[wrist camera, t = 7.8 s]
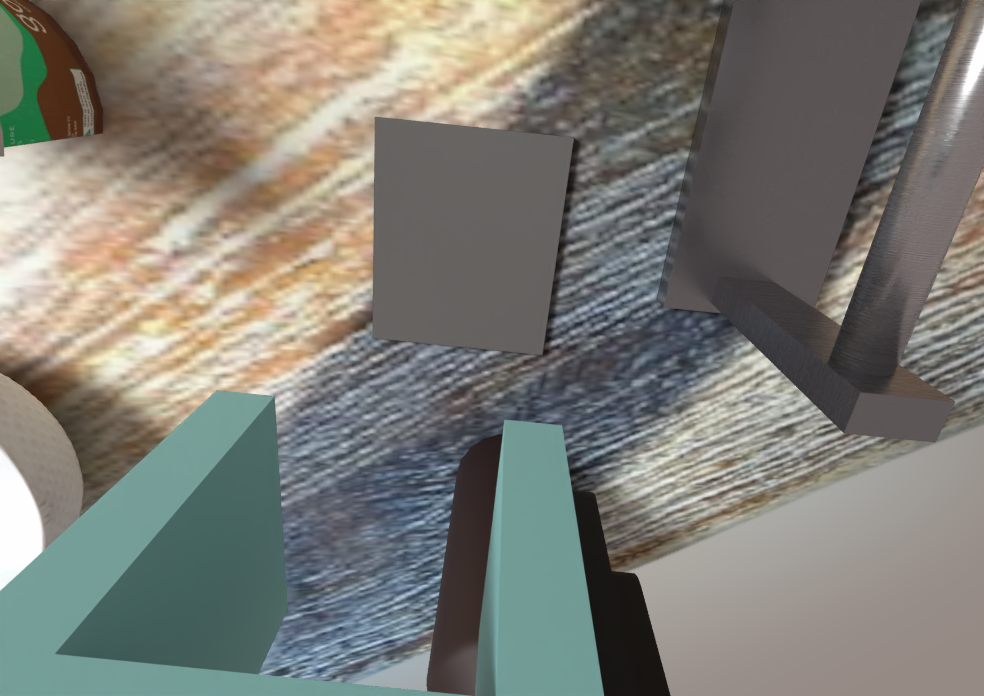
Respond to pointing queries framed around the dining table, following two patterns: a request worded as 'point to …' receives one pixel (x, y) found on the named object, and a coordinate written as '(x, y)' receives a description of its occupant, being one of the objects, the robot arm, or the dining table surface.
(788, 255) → the stand
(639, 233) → the dining table surface
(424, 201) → the mat
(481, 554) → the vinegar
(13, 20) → the food container
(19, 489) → the cereal bowl
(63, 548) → the teal u-channel
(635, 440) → the dining table surface
